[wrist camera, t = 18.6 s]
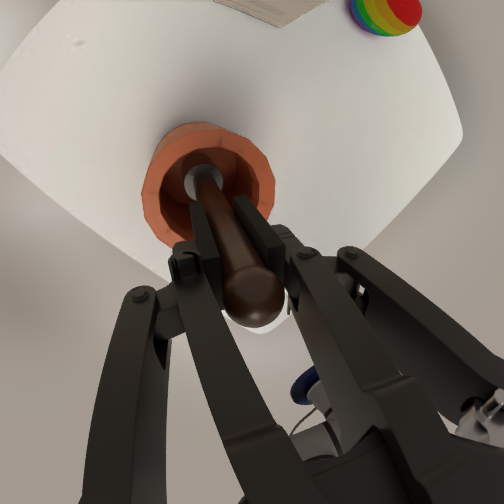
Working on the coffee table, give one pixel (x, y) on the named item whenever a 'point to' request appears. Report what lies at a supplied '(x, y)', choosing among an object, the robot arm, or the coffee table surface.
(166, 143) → the jar
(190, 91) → the coffee table surface
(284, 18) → the rectangular carton
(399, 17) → the decorative egg
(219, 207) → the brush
